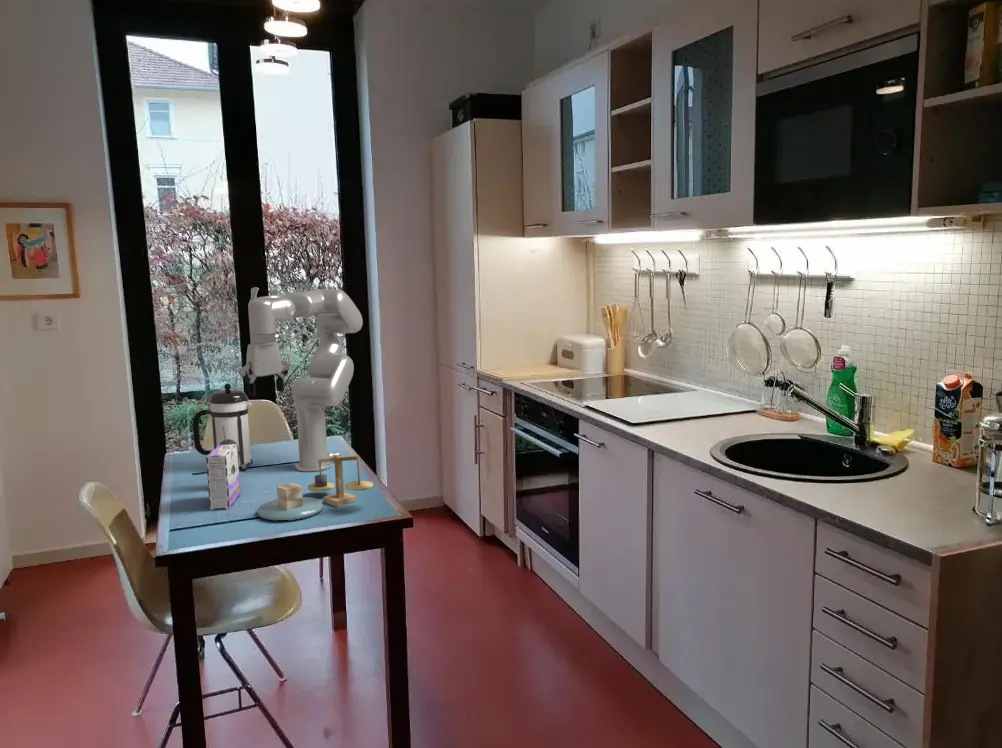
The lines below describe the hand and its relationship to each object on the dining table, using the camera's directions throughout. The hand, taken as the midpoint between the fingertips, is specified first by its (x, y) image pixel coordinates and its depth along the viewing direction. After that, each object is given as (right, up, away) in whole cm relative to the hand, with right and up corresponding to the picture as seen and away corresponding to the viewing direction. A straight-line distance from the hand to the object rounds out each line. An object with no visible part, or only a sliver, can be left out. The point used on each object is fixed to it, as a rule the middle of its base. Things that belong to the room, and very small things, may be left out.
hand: (266, 393), depth 245 cm
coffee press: (-21, -27, +28) cm, 44 cm away
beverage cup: (-13, -30, +5) cm, 33 cm away
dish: (+13, -34, -21) cm, 42 cm away
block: (+13, -32, -21) cm, 41 cm away
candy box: (-9, -33, -11) cm, 36 cm away
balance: (+26, -32, -12) cm, 43 cm away
